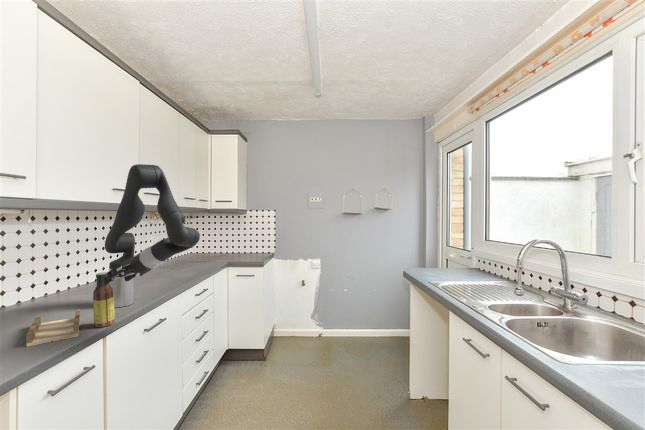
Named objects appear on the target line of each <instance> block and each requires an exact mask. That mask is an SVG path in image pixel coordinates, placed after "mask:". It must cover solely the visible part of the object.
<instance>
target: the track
mask: <svg viewBox="0 0 645 430" xmlns="http://www.w3.org/2000/svg"><path fill="white" fill-rule="evenodd" d="M80 322H81V309H78V308H77V309H76V310H75V313H74V317H70V318H64V319H59V320H53V321H46V322H42V315H36V316H35V318H34V320H33V322H32V323H31V325H30V327H29V329H28V330H27V333H26V347H33V346H37V345H43V344H47V343H52V342H51V341H53V342H58V341H61V339H62V340H66V339H71V338H76V337H79V331H80V330H79V329H80Z"/></svg>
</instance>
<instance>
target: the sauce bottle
mask: <svg viewBox="0 0 645 430" xmlns="http://www.w3.org/2000/svg"><path fill="white" fill-rule="evenodd" d="M107 272H108V271H103V272H98V273H96V274H95V278H96V286H95V289H94V290H93V291H92V292H93V293H92V294H93V295H92V301H93V302H92V304H93V321H94V327H96V328H105V327H108V326H111V325H113V324H114V323H115V317H116V316H115V315H116V314H115V307H114V296H113V288H112V287H111V285H110V284H109V283H108V284H104V281H103V279H104V278H106V277H107Z"/></svg>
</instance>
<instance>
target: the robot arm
mask: <svg viewBox="0 0 645 430" xmlns="http://www.w3.org/2000/svg"><path fill="white" fill-rule="evenodd" d="M142 189H156V190H157V191H158V193H159V197H158V200H157V204H156V206H157V212H158V216H159V217H160V218H161V220H162V221H163V223H164V224H165V225H164V226H165V230H166V235H167V237H166V238H162V239H161V240H159V241H157V242H156V243H154V244H153V245H151V246H148V247H147V248H145V249H143V250H142V251H141V252H139V253H137V254H136V255H135V248H136V247H135V245H136V238H135V236H134V234H133V233H132V232H128V231H130V230H131V229H133V228H135V227H136V226H137V225H138V224H139V223H140V222H141V221H142V219H143V216H144V214H145V210H146V206H145V204H144V201H142V199H141V197H140V196H139V193H140V191H141V190H142ZM185 222H186V217H185V215H184V213H183V211H182V210H181V208H180V207H179V205H178V203H177V202H176V199H175V197H174V195H173V193H172V191H171V187H170V185H169V182H168V179H167V177H166V174H165V173H164V171H163V169H162V168H161V167H160V166H159V165H156V164H141V163H139V164H134V165H132V166H131V167H130V169H129V170H128V174H127V179H126V183H125V189H124V192H123V195H122V199H121V201H120V204H119V205H118V208H117V210H116V214H115V217H114V220H113V224H112V226H111V228H110V230H109V231H108V233H107V234H106V235H107V236H106V237H105V240H104V250H105V251H106V252H107V253H108V254H123V255H121V256H119V258H117V259H114V260H112V261H111V262H109V264H108V265H109V269H108V271H106V272H107V277H106V278H104V279H103V281H104V284H108V283H109V284H110V285H111V287H112V288H113V296H114V308H122V307H128V306H131V305H133V304H134V278H137V277H142V276H144V275H145V274H147V273H149V272H151V271H153V270H154V269H155V268H157V267H159V266H160V265H162V264H163V263H164V262H165V261H167V260H168V259H170V258H171V257H173V256H174V255H176V254H177V255H178V254H180V253H183V252H185V251H187V250H190V249H192V248H193V247H195V246H196V245H197V244H198V243H199V241H200V237H201V236H200V235H201V234H200V232H199V231H198V230H197V229H196V228H193V227H189V226H185V225H184V224H185Z"/></svg>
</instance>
